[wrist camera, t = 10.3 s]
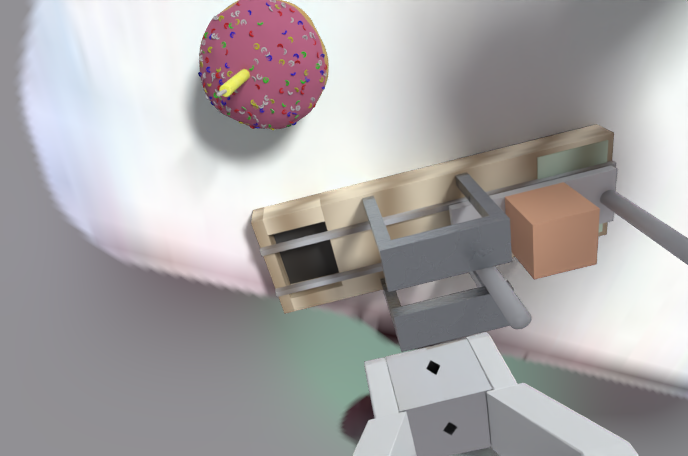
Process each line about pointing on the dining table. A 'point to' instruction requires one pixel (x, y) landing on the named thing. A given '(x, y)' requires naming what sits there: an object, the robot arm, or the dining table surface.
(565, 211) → the sled
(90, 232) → the dining table surface
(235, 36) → the cupcake
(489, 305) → the tunnel
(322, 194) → the board
